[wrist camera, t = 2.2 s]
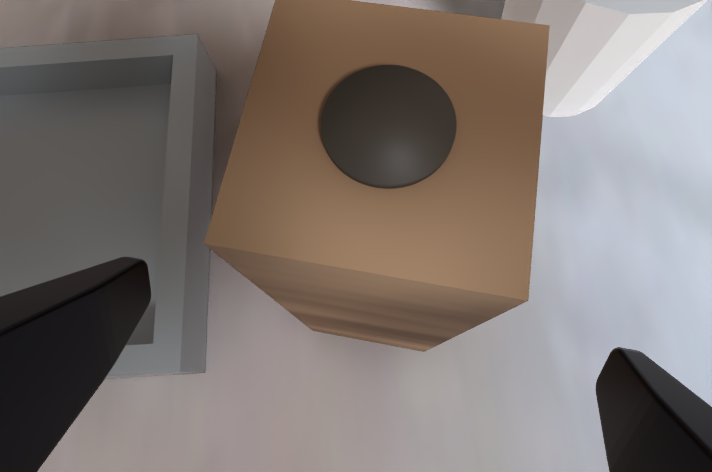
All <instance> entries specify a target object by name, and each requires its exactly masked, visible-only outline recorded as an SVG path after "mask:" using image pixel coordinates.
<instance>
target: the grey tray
mask: <svg viewBox="0 0 712 472" xmlns="http://www.w3.org/2000/svg"><path fill="white" fill-rule="evenodd" d="M215 93H216V69H215V67H214V65H213V63H212V61H211V59H210V57H209V55H208V54H207V52H206V50H205V48H204V46H203V44H202V42H201V40H200V38H199V36H198V34H189V35H176V36H162V37H148V38H134V39H121V40H107V41H93V42H79V43H65V44H52V45H38V46H24V47H10V48H0V296H3V295H6V294H9V293H13V292H16V291H19V290H22V289H25V288H28V287H31V286H34V285H37V284H40V283H43V282H46V281H49V280H53V279H56V278H59V277H62V276H65V275H68V274H71V273H74V272H77V271H80V270H83V269H86V268H90V267H93V266H96V265H99V264H102V263H105V262H108V261H111V260H114V259H117V258H120V257H132V258H138V259H142V260H144V261H145V262H146V263H147V265H148V271H149V279H150V286H151V301H150V304H149V306H148V308H147V309H146V311H145V313H144V315H143V316H142V318H141V320H140V322H139V323H138V325H137V327H136V328H135V330H134V332H133V334H132V335H131V337H130V339H129V341H128V342H127V344H126V346H125V347H124V349H123V351H122V353H121V354H120V356H119V358H118V359H117V361H116V363H115V364H114V366H113V367H112V369H111V370H110V372H109V373H108V375H107V376H106V378H105V379H110V378H126V377H142V376H158V375H174V374H190V373H205V371H206V343H207V315H208V287H209V260H210V248H209V247H207V246H206V245H205V244H204V241H205V238H206V234H207V231H208V228H209V224H210V221H211V204H212V176H213V149H214V121H215Z"/></svg>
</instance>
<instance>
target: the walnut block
mask: <svg viewBox="0 0 712 472" xmlns="http://www.w3.org/2000/svg"><path fill="white" fill-rule="evenodd" d="M549 28H550V25H544V24H536V23H528V22H520V21H512V20H504V19H496V18H488V17H480V16H472V15H464V14H456V13H448V12H440V11H432V10H424V9H416V8H408V7H400V6H392V5H384V4H376V3H368V2H360V1H352V0H275V3H274V7H273V10H272V13H271V17H270V20H269V24H268V27H267V30H266V34H265V37H264V41H263V44H262V47H261V51H260V54H259V58H258V61H257V64H256V68H255V71H254V75H253V78H252V81H251V85H250V88H249V92H248V95H247V98H246V102H245V105H244V109H243V112H242V115H241V119H240V122H239V126H238V129H237V132H236V136H235V139H234V143H233V146H232V149H231V153H230V156H229V160H228V163H227V166H226V170H225V173H224V177H223V180H222V183H221V187H220V190H219V194H218V197H217V200H216V204H215V207H214V211H213V214H212V217H211V221H210V224H209V228H208V231H207V234H206V238H205V241H204V244H205V245H206V246H207V247H209V248H210V249H211V250H212V251H214V252H215V253H216V254H217V255H219V256H220V257H221V258H222V259H224V260H225V261H226V262H227V263H229V264H230V265H231V266H232V267H234V268H235V269H236V270H237V271H239V272H240V273H241V274H242V275H244V276H245V277H246V278H247V279H249V280H250V281H251V282H252V283H254V284H255V285H256V286H257V287H259V288H260V289H261V290H262V291H264V292H265V293H266V294H268V295H269V296H270V297H271V298H273V299H274V300H275V301H276V302H278V303H279V304H280V305H281V306H283V307H284V308H285V309H286V310H288V311H289V312H290V313H291V314H293V315H294V316H295V317H296V318H298V319H299V320H300V321H301V322H303V323H304V324H305V325H306V326H308V327H309V328H310V329H311V330H313V331H318V332H323V333H328V334H334V335H339V336H344V337H350V338H355V339H360V340H365V341H371V342H376V343H381V344H387V345H392V346H397V347H403V348H408V349H413V350H419V351H426V350H429V349H431V348H433V347H435V346H437V345H439V344H441V343H443V342H445V341H447V340H449V339H451V338H453V337H455V336H457V335H459V334H461V333H463V332H465V331H467V330H469V329H471V328H473V327H475V326H477V325H480V324H482V323H484V322H486V321H488V320H490V319H492V318H494V317H496V316H498V315H500V314H502V313H504V312H506V311H508V310H510V309H512V308H514V307H516V306H518V305H520V304H522V303H524V302H526V301H528V297H529V284H530V271H531V258H532V245H533V233H534V220H535V207H536V194H537V182H538V169H539V156H540V143H541V130H542V118H543V105H544V92H545V79H546V66H547V54H548V41H549Z"/></svg>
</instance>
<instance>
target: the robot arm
mask: <svg viewBox="0 0 712 472" xmlns="http://www.w3.org/2000/svg"><path fill="white" fill-rule="evenodd" d="M150 301H151V286H150V279H149V271H148V265H147V263H146V262H145V261H144V260H142V259H138V258H132V257H120V258H117V259H114V260H111V261H108V262H105V263H102V264H99V265H96V266H93V267H90V268H86V269H83V270H80V271H77V272H74V273H71V274H68V275H65V276H62V277H59V278H56V279H53V280H49V281H46V282H43V283H40V284H37V285H34V286H31V287H28V288H25V289H22V290H19V291H16V292H13V293H9V294H6V295H3V296H0V472H37V471H38V470H39V468H40V467H41V466H42V464H43V463H44V461H45V460H46V459H47V457H48V456H49V455H50V453H51V452H52V451H53V449H54V448H55V446H56V445H57V444H58V442H59V441H60V440H61V438H62V437H63V435H64V434H65V433H66V431H67V430H68V429H69V427H70V426H71V424H72V423H73V422H74V420H75V419H76V418H77V416H78V415H79V413H80V412H81V411H82V409H83V408H84V407H85V405H86V404H87V402H88V401H89V400H90V398H91V397H92V396H93V394H94V393H95V392H96V390H97V389H98V387H99V386H100V385H101V383H102V382H103V381H104V379H105V378H106V376H107V375H108V373H109V372H110V370H111V369H112V367H113V366H114V364H115V363H116V361H117V359H118V358H119V356H120V354H121V353H122V351H123V349H124V347H125V346H126V344H127V342H128V341H129V339H130V337H131V335H132V334H133V332H134V330H135V328H136V327H137V325H138V323H139V322H140V320H141V318H142V316H143V315H144V313H145V311H146V309H147V308H148V306H149V304H150ZM596 396H597V402H598V408H599V414H600V420H601V426H602V432H603V438H604V444H605V450H606V456H607V461H608V466H609V471H610V472H712V407H711V406H710V405H708V404H707V403H706V402H705V401H703V400H702V399H701V398H700V397H698V396H697V395H696V394H694V393H693V392H692V391H691V390H689V389H688V388H687V387H685V386H684V385H683V384H682V383H680V382H679V381H678V380H677V379H675V378H674V377H673V376H671V375H670V374H669V373H668V372H666V371H665V370H664V369H662V368H661V367H660V366H659V365H657V364H656V363H655V362H654V361H652V360H651V359H650V358H648V357H647V356H646V355H645V354H643V353H642V352H640V351H637V350H632V349H626V348H621V347H618V348H615V349H613V350H612V351H611V353H610V355H609V357H608V359H607V361H606V363H605V365H604V367H603V369H602V371H601V373H600V375H599V377H598V379H597V382H596Z"/></svg>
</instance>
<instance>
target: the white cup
mask: <svg viewBox="0 0 712 472" xmlns="http://www.w3.org/2000/svg"><path fill="white" fill-rule="evenodd" d="M706 1H707V0H505V4H504V9H503V13H502V17H501V19H504V20H512V21H520V22H528V23H536V24H544V25H550V28H549V41H548V54H547V66H546V79H545V92H544V105H543V115H544V116H547V117H564V116H575V115H577V114H579V113H582V112H584V111H586V110H589V109H591V108H593V107H595V106H596V105H597V104H598V103H599V102H600V101H601V100H602V99H603V98H604V97H605V96H606V95H607V94H609V93H610V92H611V91H612V90H613V89H614V88H615V87H616V86H617V85H618V84H619V83H620V82H621V81H622V80H623V79H624V78H625V77H627V76H628V75H629V74H630V73H631V72H632V71H633V70H634V69H635V68H636V67H637V66H638V65H639V64H640V63H641V62H642V61H643V60H644V59H646V58H647V57H648V56H649V55H650V54H651V53H652V52H653V51H654V50H655V49H656V48H657V47H658V46H659V45H660V44H661V43H662V42H664V41H665V40H666V39H667V38H668V37H669V36H670V35H671V34H672V33H673V32H674V31H675V30H676V29H677V28H678V27H679V26H680V25H682V24H683V23H684V22H685V21H686V20H687V19H688V18H689V17H690V16H691V15H692V14H693V13H694V12H695V11H696V10H697V9H698V8H700V7H701V6H702V5H703V4H704V3H705V2H706Z"/></svg>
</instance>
